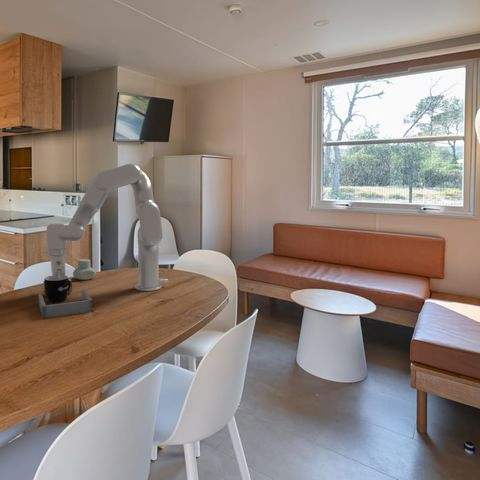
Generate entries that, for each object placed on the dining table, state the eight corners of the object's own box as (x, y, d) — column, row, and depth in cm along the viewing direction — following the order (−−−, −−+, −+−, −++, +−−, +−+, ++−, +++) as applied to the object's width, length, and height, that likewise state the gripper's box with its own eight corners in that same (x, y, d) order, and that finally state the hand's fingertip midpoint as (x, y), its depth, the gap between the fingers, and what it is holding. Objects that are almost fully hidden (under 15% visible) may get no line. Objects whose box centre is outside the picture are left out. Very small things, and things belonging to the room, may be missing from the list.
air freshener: (91, 275, 202) (91, 257, 200) (98, 278, 196) (97, 260, 195) (70, 278, 194) (70, 259, 193) (77, 282, 189) (76, 262, 187)
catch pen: (84, 299, 162) (84, 289, 161) (92, 311, 147) (92, 300, 147) (38, 305, 153) (38, 294, 152) (42, 318, 138) (42, 306, 138)
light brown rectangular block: (71, 290, 171) (70, 278, 171) (72, 292, 169) (71, 280, 168) (43, 293, 166) (43, 281, 165) (44, 295, 163) (44, 283, 162)
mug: (57, 305, 153) (57, 281, 152) (40, 302, 156) (39, 278, 154) (78, 297, 164) (77, 274, 163) (61, 294, 167) (61, 272, 165)
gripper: (69, 254, 159) (70, 296, 162) (64, 248, 173) (65, 286, 176) (49, 255, 156) (50, 298, 158) (45, 249, 169) (47, 288, 172)
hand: (58, 292), depth 167 cm, fingers closed on light brown rectangular block, 3 cm apart
